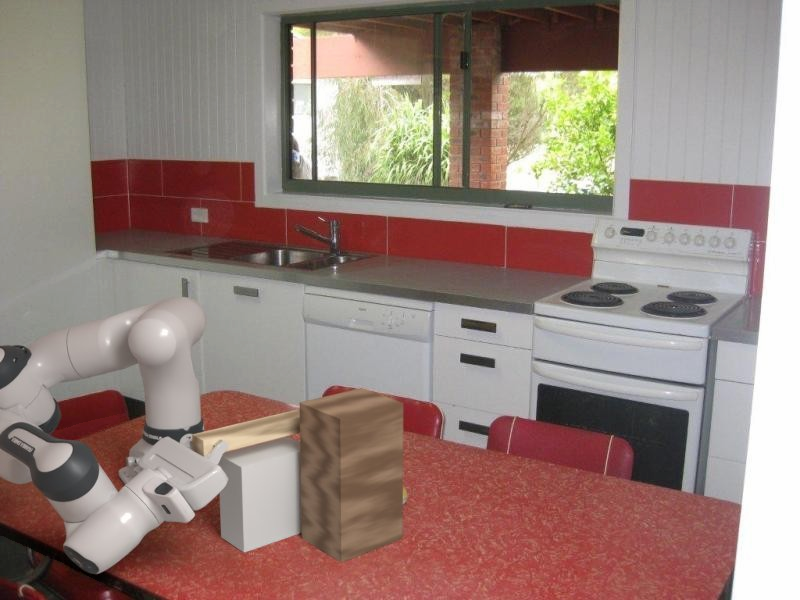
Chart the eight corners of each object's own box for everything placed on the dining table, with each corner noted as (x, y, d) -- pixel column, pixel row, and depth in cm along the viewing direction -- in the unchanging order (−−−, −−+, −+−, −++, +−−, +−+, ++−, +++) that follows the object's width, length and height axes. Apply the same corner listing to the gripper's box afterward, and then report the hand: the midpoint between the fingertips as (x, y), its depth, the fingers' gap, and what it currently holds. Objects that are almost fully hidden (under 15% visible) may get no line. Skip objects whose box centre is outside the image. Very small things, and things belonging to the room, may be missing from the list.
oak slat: (192, 451, 161) (192, 434, 160) (297, 424, 175) (297, 409, 174) (203, 457, 158) (203, 440, 157) (310, 430, 172) (309, 414, 171)
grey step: (221, 537, 170) (218, 454, 167) (289, 514, 179) (287, 436, 176) (244, 552, 164) (241, 467, 161) (313, 528, 174) (312, 447, 170)
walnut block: (301, 538, 169) (299, 402, 164) (361, 517, 178) (361, 388, 173) (341, 562, 161) (340, 419, 155) (402, 539, 170) (403, 403, 164)
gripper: (137, 487, 164) (197, 436, 171) (193, 526, 149) (256, 468, 155) (119, 462, 161) (180, 411, 168) (174, 499, 146) (239, 441, 152)
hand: (217, 438), depth 161 cm, fingers closed on oak slat, 4 cm apart
